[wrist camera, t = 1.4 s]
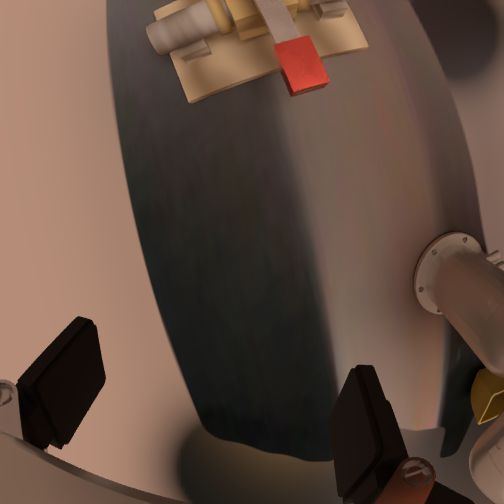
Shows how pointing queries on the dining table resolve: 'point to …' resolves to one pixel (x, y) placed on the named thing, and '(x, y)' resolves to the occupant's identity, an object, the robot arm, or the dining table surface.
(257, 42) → the valve bench
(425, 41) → the dining table surface
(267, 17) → the valve lever
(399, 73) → the dining table surface
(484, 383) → the flower pot
